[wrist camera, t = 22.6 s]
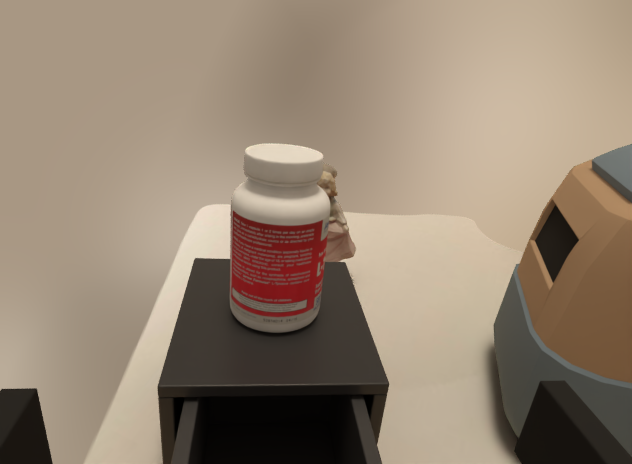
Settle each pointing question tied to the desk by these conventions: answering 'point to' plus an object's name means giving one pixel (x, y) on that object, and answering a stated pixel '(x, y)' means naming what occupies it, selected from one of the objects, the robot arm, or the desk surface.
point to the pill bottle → (278, 238)
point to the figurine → (335, 221)
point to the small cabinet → (267, 350)
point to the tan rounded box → (574, 299)
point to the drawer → (275, 430)
